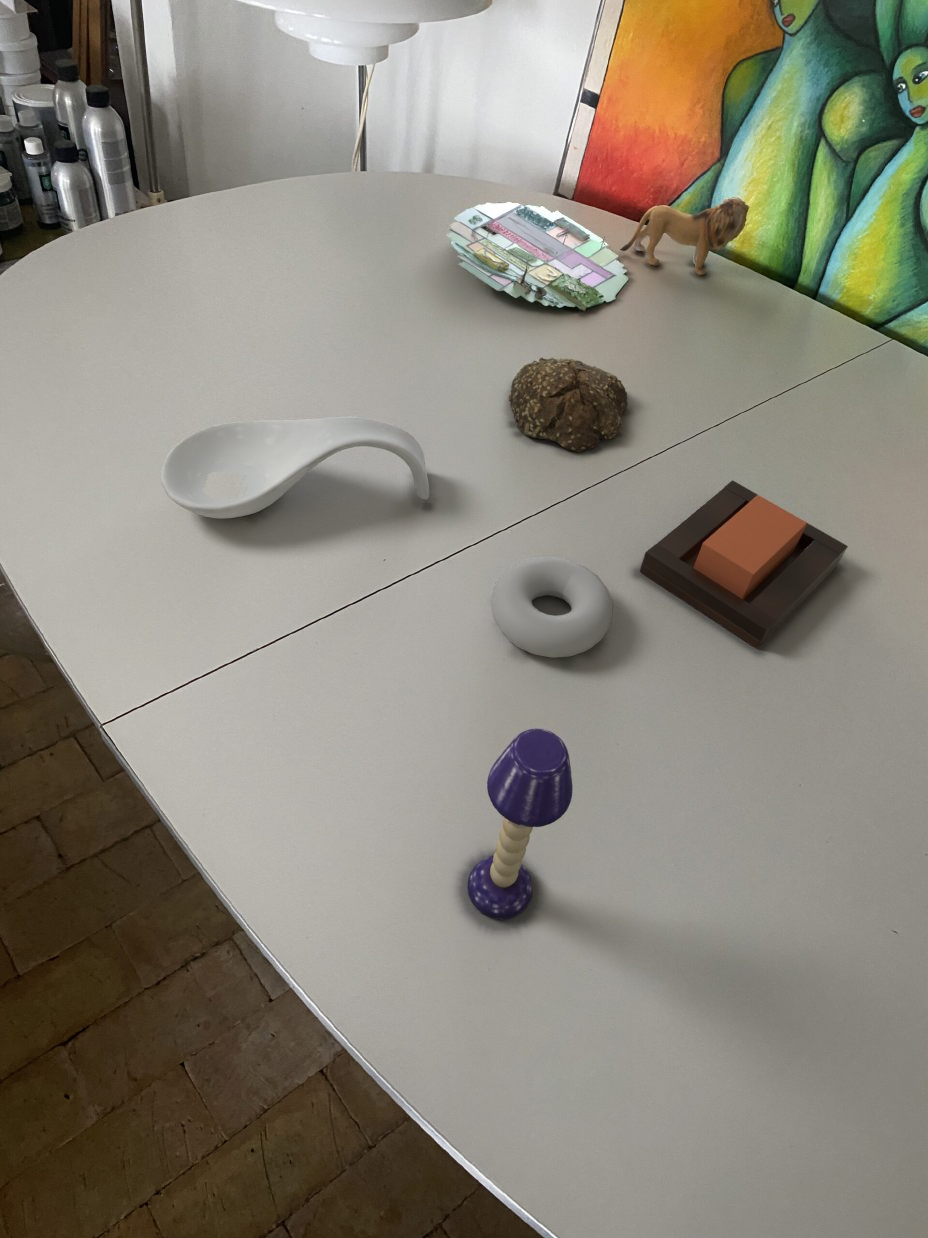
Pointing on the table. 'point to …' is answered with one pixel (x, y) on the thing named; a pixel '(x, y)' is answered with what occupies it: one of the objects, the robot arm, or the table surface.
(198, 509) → the spoon rest
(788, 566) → the back plate
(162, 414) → the table surface
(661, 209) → the lion figurine
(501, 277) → the city model
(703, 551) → the orange block
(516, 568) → the donut
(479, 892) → the toy lamp
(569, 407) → the bread roll
